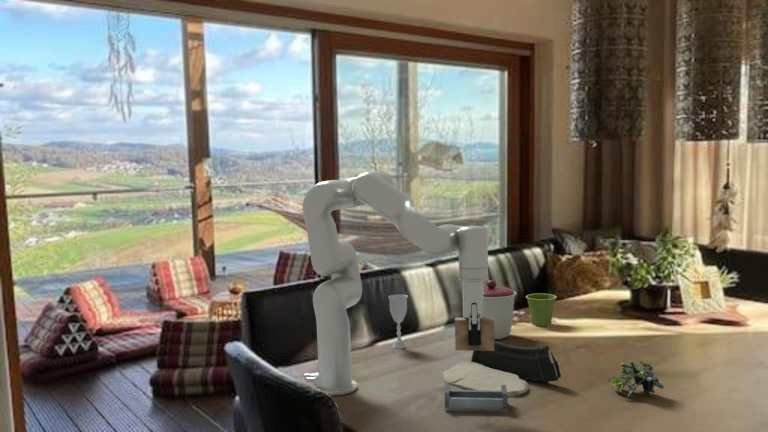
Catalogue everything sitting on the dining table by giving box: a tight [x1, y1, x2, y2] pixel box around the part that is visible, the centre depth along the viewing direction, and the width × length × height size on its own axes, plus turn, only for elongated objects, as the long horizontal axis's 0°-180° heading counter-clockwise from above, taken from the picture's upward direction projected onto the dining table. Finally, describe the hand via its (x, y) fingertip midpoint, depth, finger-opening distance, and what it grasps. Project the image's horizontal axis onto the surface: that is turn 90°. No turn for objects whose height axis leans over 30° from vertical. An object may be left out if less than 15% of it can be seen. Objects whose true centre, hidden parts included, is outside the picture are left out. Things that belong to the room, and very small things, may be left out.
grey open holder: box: [444, 383, 509, 413], centre depth 173 cm, size 16×7×5 cm, turn 83°
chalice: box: [387, 293, 409, 350], centre depth 232 cm, size 7×7×18 cm
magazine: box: [470, 340, 562, 386], centre depth 198 cm, size 17×3×30 cm
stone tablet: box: [442, 361, 529, 398], centre depth 192 cm, size 16×30×2 cm, turn 36°
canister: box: [471, 279, 517, 341], centre depth 242 cm, size 18×18×21 cm
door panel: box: [454, 316, 495, 352], centre depth 171 cm, size 10×3×8 cm, turn 83°
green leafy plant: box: [607, 360, 665, 399], centre depth 178 cm, size 11×11×12 cm
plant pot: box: [525, 293, 557, 327], centre depth 259 cm, size 12×12×11 cm
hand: (474, 342), depth 172 cm, fingers closed on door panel, 3 cm apart
